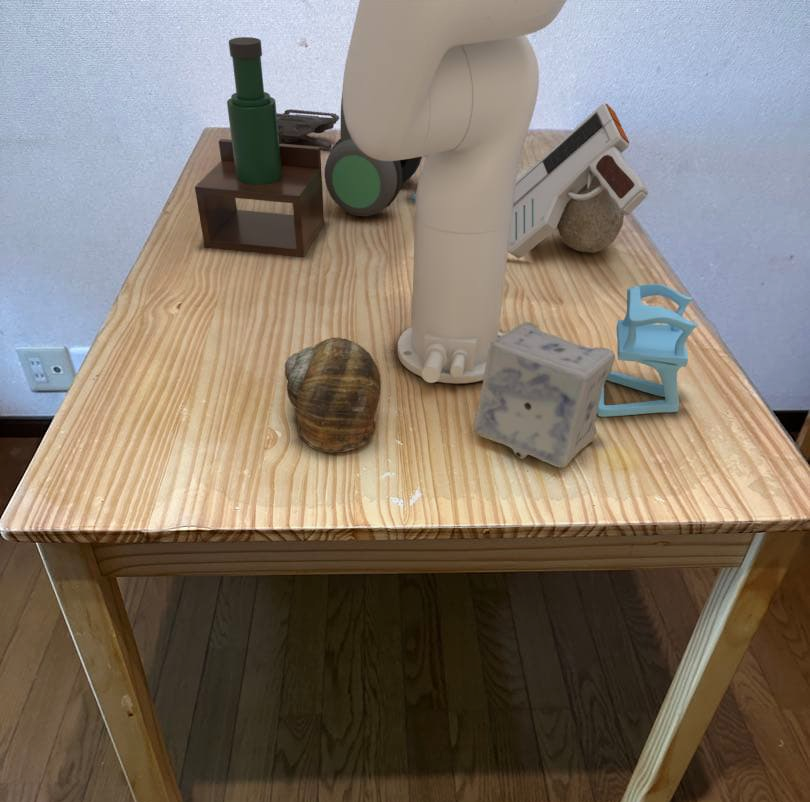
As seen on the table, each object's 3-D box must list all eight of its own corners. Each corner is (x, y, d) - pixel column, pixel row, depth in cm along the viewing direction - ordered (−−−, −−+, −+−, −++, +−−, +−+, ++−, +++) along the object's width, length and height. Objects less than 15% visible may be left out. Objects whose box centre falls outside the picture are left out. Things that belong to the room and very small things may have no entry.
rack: (303, 257, 105) (297, 175, 98) (204, 247, 107) (191, 166, 99) (324, 224, 113) (320, 146, 105) (231, 215, 114) (220, 138, 107)
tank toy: (314, 118, 128) (315, 153, 131) (344, 112, 135) (345, 145, 138) (254, 113, 133) (257, 147, 136) (286, 108, 140) (288, 140, 143)
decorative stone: (547, 233, 111) (558, 159, 104) (606, 234, 111) (621, 160, 104) (557, 265, 104) (569, 188, 97) (620, 266, 104) (637, 189, 97)
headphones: (361, 172, 127) (358, 28, 113) (426, 180, 125) (431, 34, 111) (321, 216, 114) (312, 60, 100) (393, 226, 112) (394, 67, 98)
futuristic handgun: (525, 299, 104) (494, 215, 110) (656, 198, 92) (614, 108, 98) (513, 293, 102) (482, 207, 108) (645, 188, 91) (603, 97, 96)
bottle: (274, 186, 102) (261, 48, 91) (230, 182, 102) (211, 45, 92) (287, 170, 106) (276, 36, 95) (244, 166, 107) (229, 33, 96)
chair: (679, 425, 79) (714, 316, 70) (596, 416, 80) (620, 307, 71) (674, 384, 84) (706, 278, 76) (596, 375, 85) (618, 270, 77)
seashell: (292, 389, 82) (285, 319, 77) (381, 389, 82) (381, 320, 77) (282, 455, 74) (273, 383, 69) (380, 455, 74) (380, 383, 69)
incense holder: (598, 435, 77) (621, 341, 70) (562, 479, 72) (582, 383, 65) (510, 402, 81) (523, 310, 74) (470, 442, 76) (479, 347, 69)
